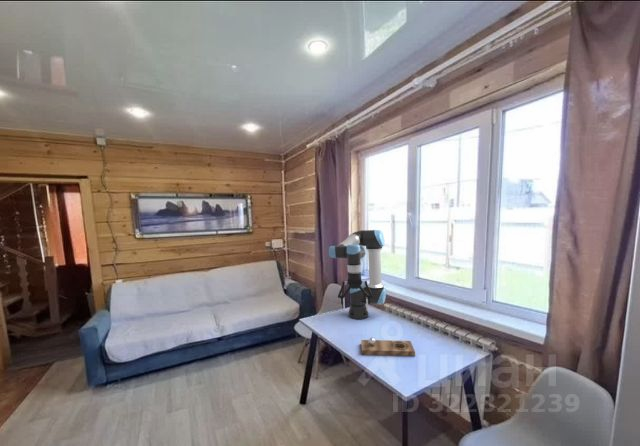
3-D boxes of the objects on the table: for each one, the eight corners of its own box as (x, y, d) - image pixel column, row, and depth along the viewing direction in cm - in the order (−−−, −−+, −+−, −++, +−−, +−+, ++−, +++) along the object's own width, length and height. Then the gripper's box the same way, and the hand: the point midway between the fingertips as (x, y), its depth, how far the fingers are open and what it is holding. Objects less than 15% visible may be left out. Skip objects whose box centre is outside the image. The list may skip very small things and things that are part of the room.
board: (361, 354, 145) (361, 350, 145) (361, 344, 157) (361, 339, 157) (415, 356, 141) (415, 351, 141) (410, 345, 153) (410, 340, 153)
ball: (368, 343, 152) (368, 336, 152) (375, 343, 152) (375, 336, 152) (368, 346, 148) (368, 339, 148) (376, 346, 148) (375, 339, 148)
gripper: (332, 273, 148) (333, 312, 148) (377, 273, 145) (378, 312, 145) (333, 270, 155) (334, 307, 156) (375, 270, 152) (377, 307, 153)
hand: (355, 309), depth 151 cm, fingers open, 12 cm apart
